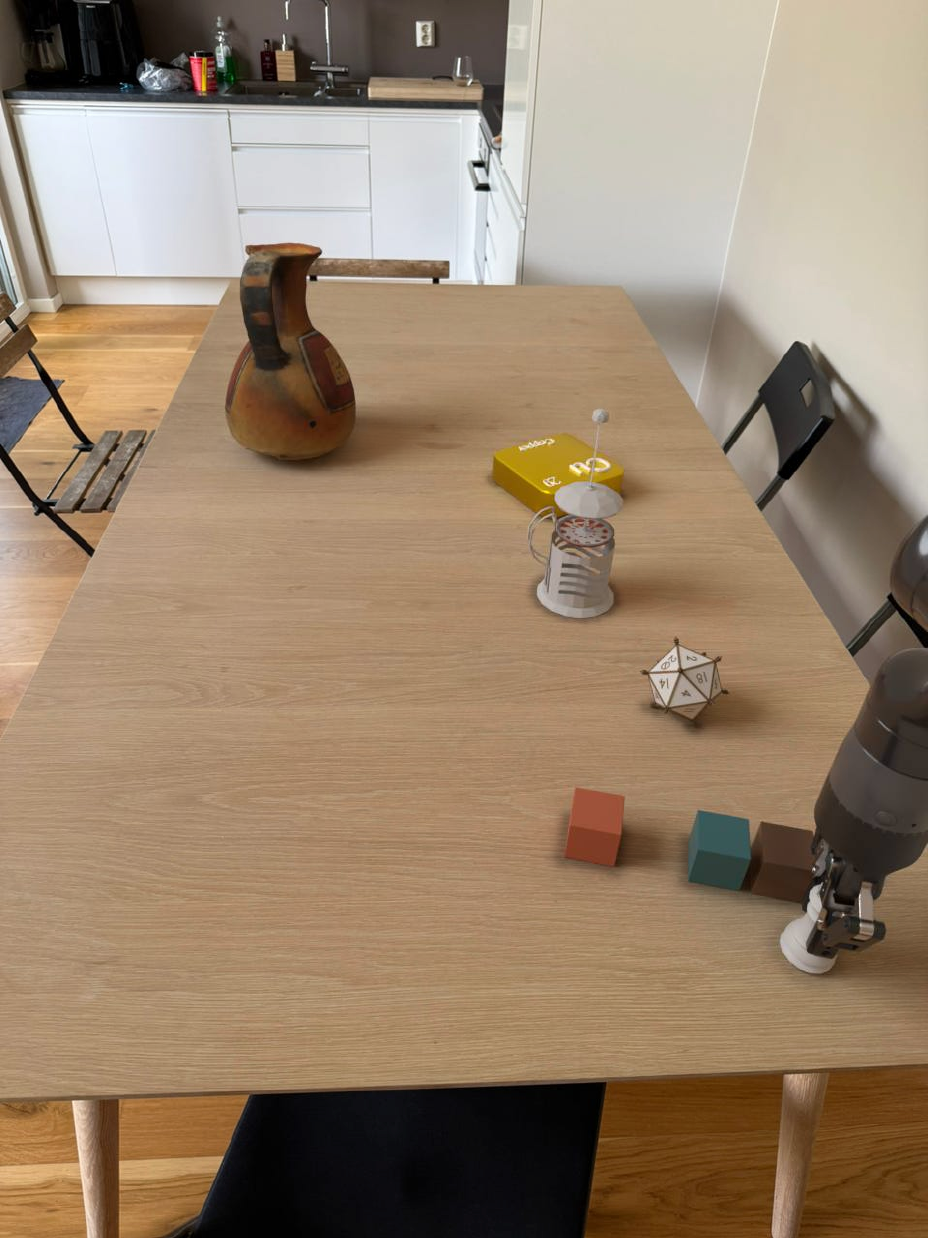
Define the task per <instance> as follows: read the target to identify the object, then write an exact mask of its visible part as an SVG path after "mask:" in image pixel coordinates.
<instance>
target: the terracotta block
mask: <svg viewBox="0 0 928 1238" xmlns="http://www.w3.org/2000/svg"><path fill="white" fill-rule="evenodd" d="M572 798H573V799H572V804H571V805H572V806H571V810H570V815H569V816H570V817H569V822H568V828H567V829H568V830H567V835H566V841H565V849H564V858H568V859H572V860H577V861H582V862H588V863H593V864H598V865H603V866H609V867H613V868H614V867H615V865H616V861H617V856H618V852H619V847H620V843H621V839H622V835H623V834H622V833H623V823H624V810H625V798H626V797H625V795H619V794H614V793H609V792H603V791H599V790H592V789H587V788H582V787H575V788H574V793H573V797H572Z"/></svg>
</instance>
